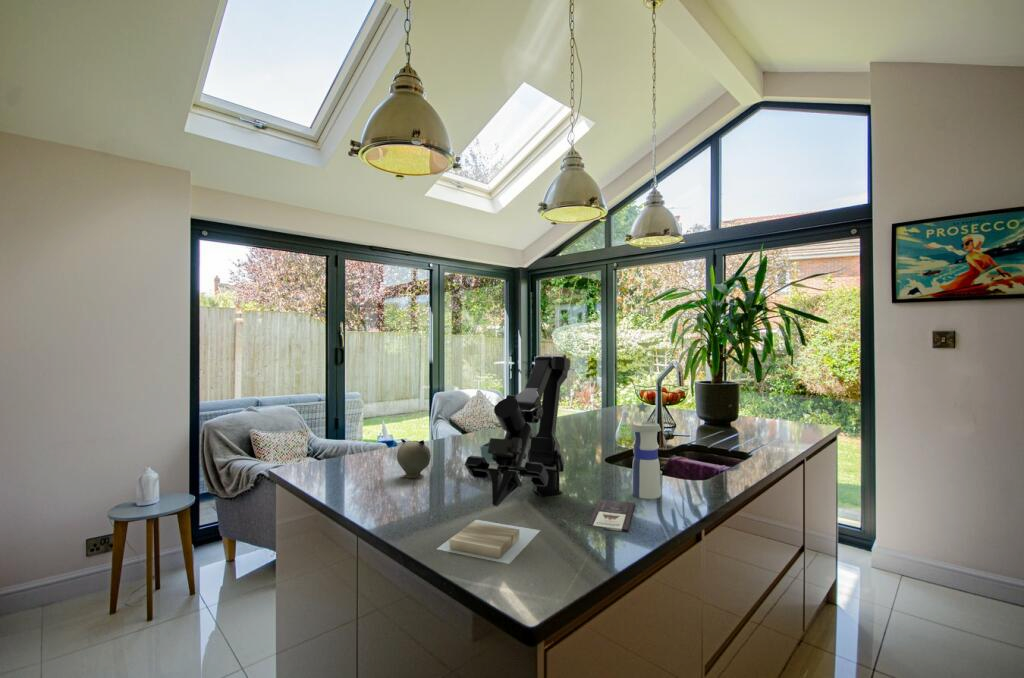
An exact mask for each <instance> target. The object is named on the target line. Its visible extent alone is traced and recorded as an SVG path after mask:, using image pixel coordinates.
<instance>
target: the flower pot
mask: <svg viewBox="0 0 1024 678" xmlns="http://www.w3.org/2000/svg"><path fill="white" fill-rule="evenodd" d="M488 447H489V441H488V442H486V443H484V444H482V445H480V454H481V455H480V456H481V457H484V458H485V460H486V461H487V463H489V462H495V463H496V461H494V460H493V459H492V456H493V455H492V454H491V453H488Z"/></svg>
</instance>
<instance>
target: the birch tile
mask: <svg viewBox="0 0 1024 678" xmlns="http://www.w3.org/2000/svg"><path fill="white" fill-rule="evenodd" d="M450 538H451V539H450ZM450 538H449V539H450V548H451V549H454V550H459V551H464V552H469V553H474V554H479V555H484V556H489V557H494V558H500V557H501V556H502V555H503V554H504V553H505V552H506V551H507V550H508V549H509V548H510V547H511V546H512V545H513V544H514V543H515V542H516V541H517V540H518V539H519V529H513V528H508V527H502V526H496V525H490V524H484V523H478V522H474V521H472V522H471V523H469V524H468V525H467V526H465V527H464V528H463V529H461V530H460V531H458V532H457V533H456V534H455V535H453V536H452V537H450Z"/></svg>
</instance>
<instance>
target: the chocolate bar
mask: <svg viewBox="0 0 1024 678" xmlns="http://www.w3.org/2000/svg"><path fill="white" fill-rule="evenodd" d="M634 508H635V503H634V502H627V501H618V500H608V499H601V498H600V499H598V502H597V503H596V505H595V507H594V509H593V512H592V513H591V514H590V515H591V516H590V518H589V520H588V521H587V524H586V525H587V526H592V527H601V528H603V530H609V531H616V532H617V531H618V532H623V533H624V532H626V533H628V532H629V530H630V526H631V520H632V517H633V513H634Z"/></svg>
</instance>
